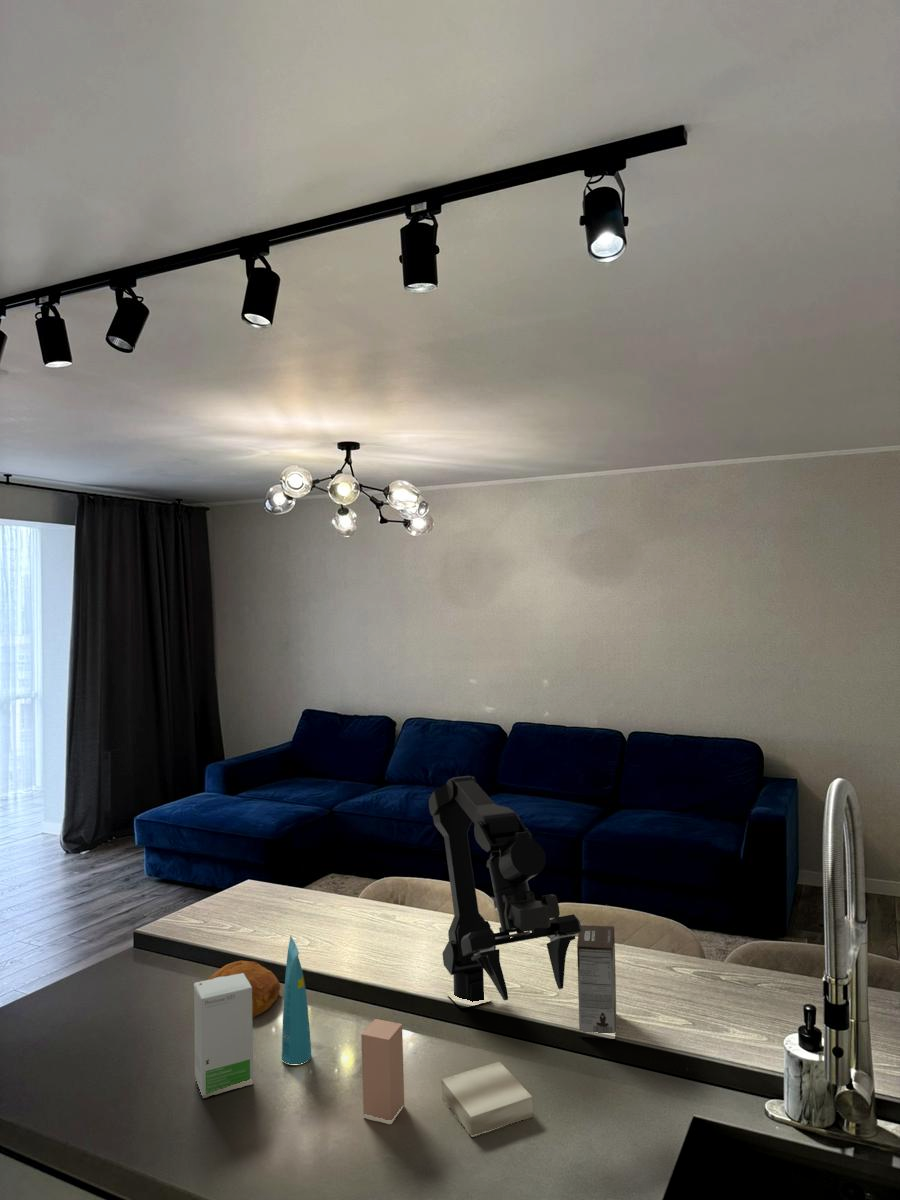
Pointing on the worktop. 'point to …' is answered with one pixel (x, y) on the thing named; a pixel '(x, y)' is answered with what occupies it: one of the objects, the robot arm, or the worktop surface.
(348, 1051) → the worktop surface
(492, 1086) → the plinth
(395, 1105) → the column
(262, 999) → the bread loaf
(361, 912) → the worktop surface
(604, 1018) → the coffee box
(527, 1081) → the worktop surface
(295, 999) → the tube
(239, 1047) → the skincare box
